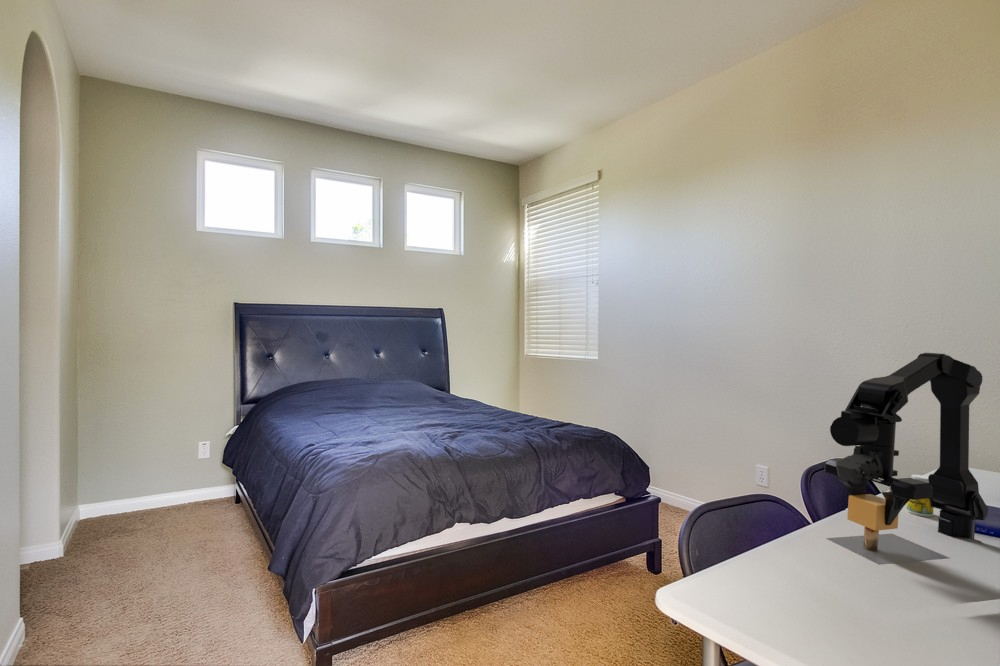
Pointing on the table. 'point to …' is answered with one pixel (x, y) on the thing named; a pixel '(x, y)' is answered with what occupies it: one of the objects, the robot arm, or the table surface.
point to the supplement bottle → (920, 502)
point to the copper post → (870, 539)
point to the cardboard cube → (869, 512)
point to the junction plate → (888, 549)
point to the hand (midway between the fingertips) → (872, 519)
